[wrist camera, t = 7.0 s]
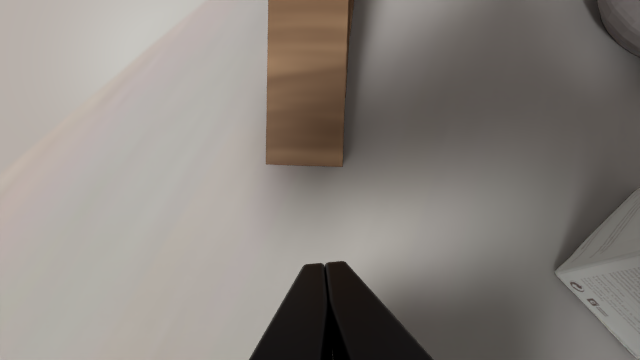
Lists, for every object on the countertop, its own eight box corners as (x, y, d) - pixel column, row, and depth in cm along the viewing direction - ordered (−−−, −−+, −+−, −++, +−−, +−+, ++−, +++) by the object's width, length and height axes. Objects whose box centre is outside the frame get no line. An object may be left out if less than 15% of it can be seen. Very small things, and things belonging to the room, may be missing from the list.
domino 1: (342, 166, 20) (349, -26, 19) (265, 164, 21) (268, -27, 20) (342, 165, 22) (348, -13, 21) (271, 162, 22) (274, -14, 21)
